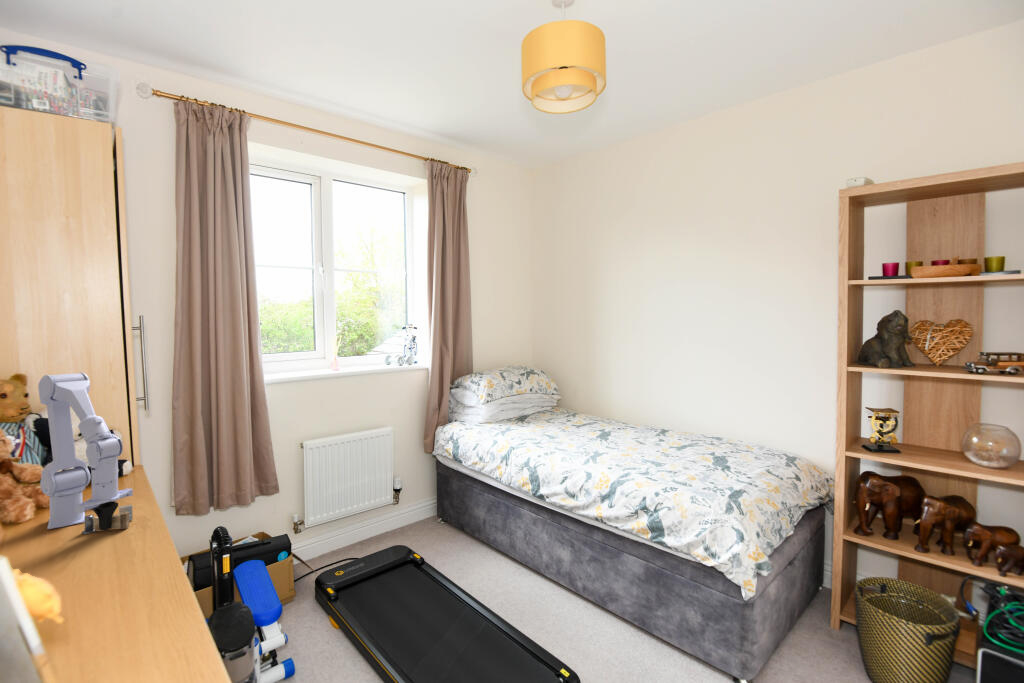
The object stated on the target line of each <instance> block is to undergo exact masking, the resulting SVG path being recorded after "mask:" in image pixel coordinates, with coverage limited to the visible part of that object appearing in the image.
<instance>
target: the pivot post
mask: <svg viewBox="0 0 1024 683" xmlns="http://www.w3.org/2000/svg"><path fill="white" fill-rule="evenodd" d="M94 518H95V517H94V514H88V515H85V517H84V521H85V522H84V530H82V532H81V534H82V535H89V534H93V533H95V532H97V531H98V530H95V531H94Z"/></svg>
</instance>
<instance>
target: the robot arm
mask: <svg viewBox="0 0 1024 683" xmlns="http://www.w3.org/2000/svg"><path fill="white" fill-rule="evenodd" d="M37 386H38V397H39V401H40V404H41V405H44V406H46V411H47V412H46V413H47V421H48V428H49V436H50V437H49V438H50V445H51V454H52V461H51V462H50V463H49V464H47V465H46V466H45V467H44V468H42V469H41V475H40V476H41V478H40V481H39V485H40V490H41V492H42V493H43V494H44V495H45V496H48V497H49V518H48V524H47V528H46V529H47V530H52V529H57V528H58V529H59V528H63V527H67V526H73V525H78V524H82V523H85V521H84V517H85V516H86V512H87V511H89V510H92V511H93V512H94V513H95V514H96V517H97V516H98V518H99V528H100V530H99V531H105V532H106V531H108V530H112V529H111V525H112V516H113V515H115V512H116V510H117V509H118V508H119V502H117V501H118V500H121V499H124V498H127V497H132V496H134V489H133V488H125V489H121V490H119V457H120V456H121V455H122V453H123V451H124V448H123V447H124V446H123V442H122V439H121V438H120V437H119V436H116V434H114V433H111V430H110V429H109V427H108V425H107V423H106V421H105V419H104V418H103V417H102V416H99V415H97V414H96V412H95V409H94V406H93V403H92V401H91V398H90V395H89V391H90V388H91V381H90V377H89V376H88V375H87V374H86V373H85V372H79V373H78V372H77V373H76V372H75V373H63V374H62V373H61V374H51V375H50V374H46V375H43V376H42V377H41V378H40V380H39V382H38V385H37ZM71 409H72V410H73V411H74V413H75V415H76V416H77V417H78V419H79V421H80V422H79V423H78V426H77V428H78V430H79V432H80V434H81V436H82V438H83V440H84V441H85V443H86V445H87V446H86V448H85V455H86V458H87V460H88V464H87V462H86V461H85V460H82V459H81V458H78V457H76V447H75V438H74V431H73V421H72V414H71ZM88 467H89V468H90V470H91V473H90V470H89V468H88ZM90 482H91V498H90V499H87V500H85V501H83V498H84V496H83V493H84V492H83V491H85V490H86V487H87V486H88V485H89V483H90Z"/></svg>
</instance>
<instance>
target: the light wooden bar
mask: <svg viewBox="0 0 1024 683" xmlns="http://www.w3.org/2000/svg"><path fill="white" fill-rule="evenodd" d="M129 527H130V522H129V512H123V513H121V514H119V513H117V514H113V516H112V525H111V529H110V530H113V529H115V530H116V529H120V530H127V529H129ZM95 530H97V531H101V530H100V528H99V518H98V516H97V515H96V516H95V517H94V531H95Z"/></svg>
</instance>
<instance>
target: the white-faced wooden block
mask: <svg viewBox="0 0 1024 683" xmlns="http://www.w3.org/2000/svg"><path fill="white" fill-rule="evenodd" d="M123 512H129V521H130V520H132V521H133V504H128V505H122V506H118V514H121V513H123ZM130 522H131V521H130Z"/></svg>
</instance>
